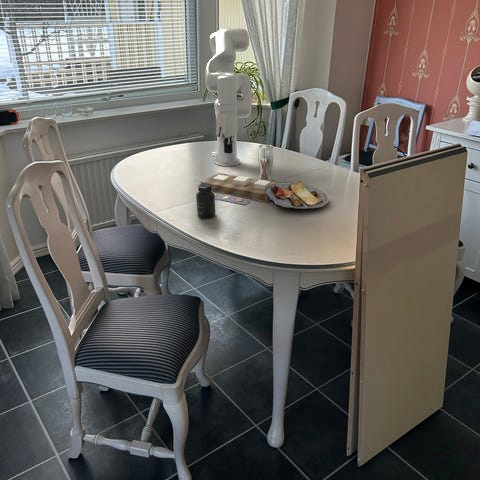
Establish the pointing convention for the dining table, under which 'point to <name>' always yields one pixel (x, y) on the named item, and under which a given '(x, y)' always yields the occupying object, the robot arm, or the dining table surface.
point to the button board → (237, 188)
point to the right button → (262, 184)
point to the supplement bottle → (205, 201)
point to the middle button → (241, 181)
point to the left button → (221, 178)
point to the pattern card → (231, 199)
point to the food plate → (296, 195)
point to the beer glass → (266, 161)
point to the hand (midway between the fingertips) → (228, 152)
